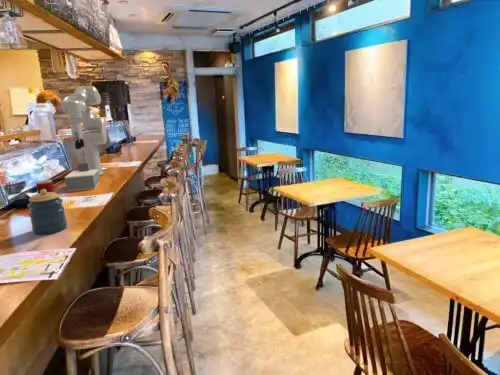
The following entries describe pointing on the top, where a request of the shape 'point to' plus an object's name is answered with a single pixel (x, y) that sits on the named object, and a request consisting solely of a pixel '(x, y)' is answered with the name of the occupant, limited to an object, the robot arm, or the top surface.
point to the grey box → (82, 182)
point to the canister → (47, 213)
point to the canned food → (45, 185)
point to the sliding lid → (82, 171)
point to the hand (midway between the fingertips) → (80, 147)
